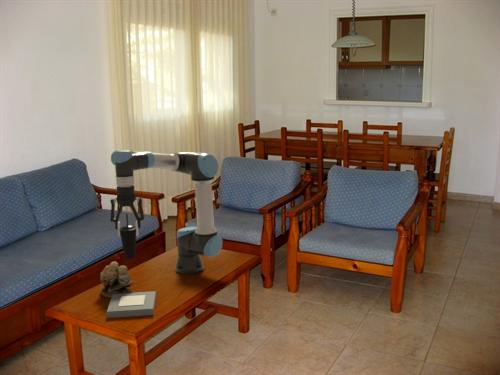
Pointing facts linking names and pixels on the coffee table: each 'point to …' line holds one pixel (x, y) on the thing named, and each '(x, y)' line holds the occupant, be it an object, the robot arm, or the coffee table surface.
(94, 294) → the coffee table surface
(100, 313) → the coffee table surface
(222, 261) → the coffee table surface
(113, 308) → the base
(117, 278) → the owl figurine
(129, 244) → the drinking cup
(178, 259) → the robot arm
